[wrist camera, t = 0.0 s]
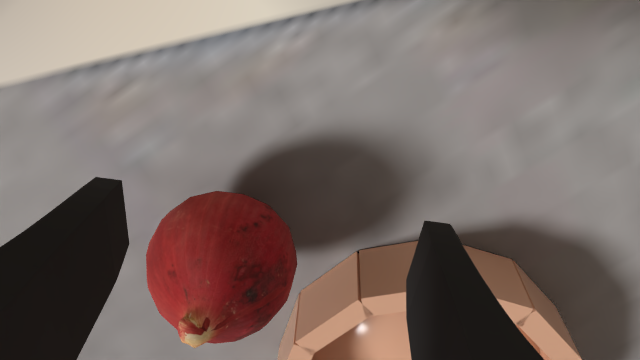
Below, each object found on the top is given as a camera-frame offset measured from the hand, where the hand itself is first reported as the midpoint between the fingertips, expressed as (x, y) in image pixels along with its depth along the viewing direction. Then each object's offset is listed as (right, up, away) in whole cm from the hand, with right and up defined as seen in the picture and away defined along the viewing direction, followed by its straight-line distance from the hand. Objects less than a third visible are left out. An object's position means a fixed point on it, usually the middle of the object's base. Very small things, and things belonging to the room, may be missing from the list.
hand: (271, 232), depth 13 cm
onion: (-3, 0, +12) cm, 13 cm away
